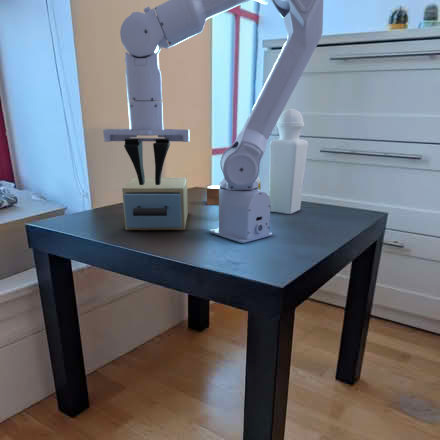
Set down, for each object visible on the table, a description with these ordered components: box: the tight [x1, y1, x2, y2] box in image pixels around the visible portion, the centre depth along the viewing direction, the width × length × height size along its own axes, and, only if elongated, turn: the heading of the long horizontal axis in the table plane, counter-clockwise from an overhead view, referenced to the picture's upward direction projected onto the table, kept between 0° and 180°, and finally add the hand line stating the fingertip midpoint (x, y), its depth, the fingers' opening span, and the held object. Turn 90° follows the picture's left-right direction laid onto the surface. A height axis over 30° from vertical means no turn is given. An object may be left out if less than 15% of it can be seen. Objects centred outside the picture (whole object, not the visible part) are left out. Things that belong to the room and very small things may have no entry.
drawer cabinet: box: [121, 176, 189, 231], centre depth 87 cm, size 14×12×8 cm
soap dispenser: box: [268, 108, 309, 215], centre depth 94 cm, size 6×6×22 cm
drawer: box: [124, 193, 181, 228], centre depth 83 cm, size 17×10×6 cm, turn 1°
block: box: [206, 185, 219, 206], centre depth 105 cm, size 4×4×4 cm
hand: (150, 184), depth 75 cm, fingers closed
